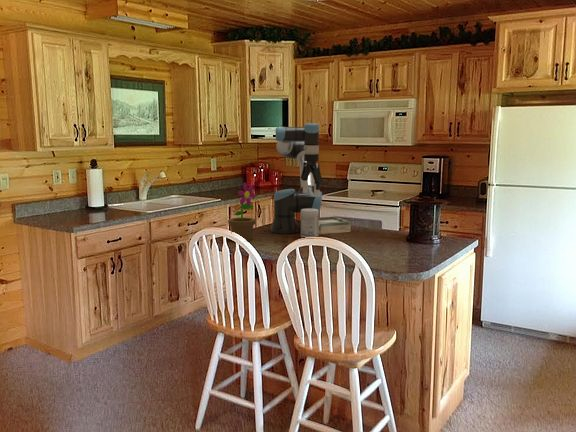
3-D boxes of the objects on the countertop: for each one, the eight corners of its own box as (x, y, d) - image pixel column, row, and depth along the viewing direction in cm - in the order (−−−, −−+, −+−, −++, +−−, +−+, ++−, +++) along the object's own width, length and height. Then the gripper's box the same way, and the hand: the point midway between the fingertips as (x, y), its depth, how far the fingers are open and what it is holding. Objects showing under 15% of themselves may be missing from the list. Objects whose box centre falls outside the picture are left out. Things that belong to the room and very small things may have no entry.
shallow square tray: (301, 227, 313) (301, 218, 312) (334, 225, 321) (334, 216, 320) (316, 234, 295) (316, 224, 294) (350, 231, 302) (350, 222, 301)
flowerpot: (241, 243, 272) (240, 183, 267) (222, 239, 282) (221, 181, 277) (261, 239, 282) (261, 181, 278) (243, 235, 292) (242, 179, 287)
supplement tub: (308, 234, 295) (309, 207, 292) (322, 236, 288) (322, 209, 286) (296, 237, 288) (296, 209, 285) (310, 239, 281) (310, 211, 279)
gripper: (294, 152, 291) (294, 191, 294) (315, 155, 268) (315, 197, 272) (307, 152, 294) (307, 191, 297) (329, 154, 271) (328, 197, 275)
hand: (310, 194), depth 284 cm, fingers open, 13 cm apart
